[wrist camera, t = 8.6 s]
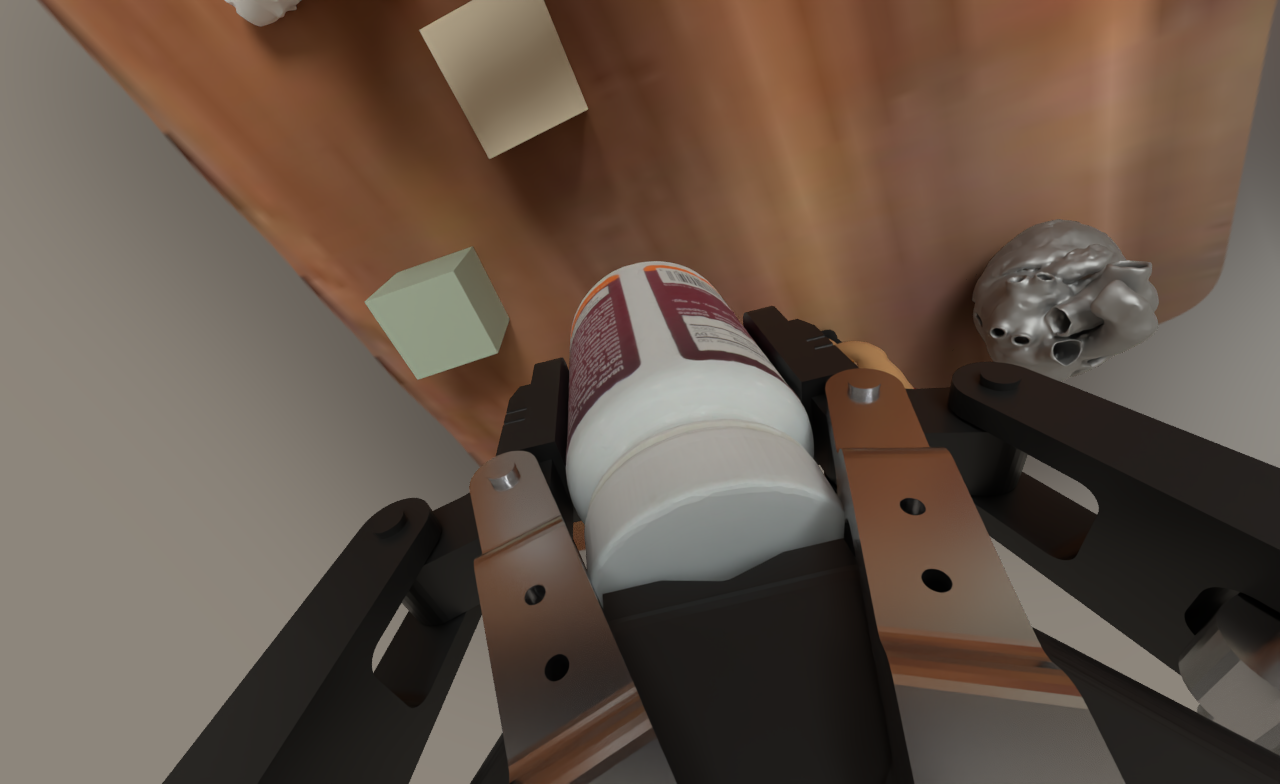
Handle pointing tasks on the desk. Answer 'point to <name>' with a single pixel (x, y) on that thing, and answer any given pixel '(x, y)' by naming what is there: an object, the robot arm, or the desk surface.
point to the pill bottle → (684, 437)
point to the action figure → (867, 356)
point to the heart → (1063, 300)
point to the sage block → (441, 313)
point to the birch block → (505, 70)
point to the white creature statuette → (263, 10)
